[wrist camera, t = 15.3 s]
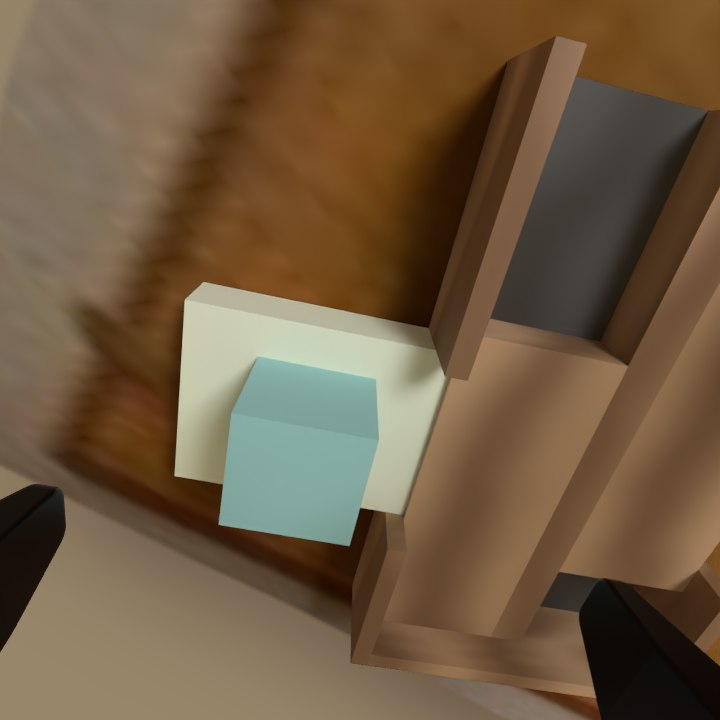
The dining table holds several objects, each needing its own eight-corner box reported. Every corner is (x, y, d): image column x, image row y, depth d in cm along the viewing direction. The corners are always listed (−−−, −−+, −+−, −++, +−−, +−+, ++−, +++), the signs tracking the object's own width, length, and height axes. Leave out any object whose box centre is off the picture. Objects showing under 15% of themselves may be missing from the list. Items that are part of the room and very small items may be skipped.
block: (376, 379, 18) (379, 440, 15) (351, 471, 20) (349, 546, 16) (258, 356, 18) (231, 413, 14) (245, 452, 20) (218, 524, 16)
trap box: (928, 168, 17) (1097, 179, 13) (618, 625, 27) (660, 707, 23) (508, 60, 16) (556, 35, 12) (352, 584, 26) (350, 663, 22)
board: (447, 332, 20) (456, 354, 18) (399, 481, 23) (403, 515, 21) (203, 282, 19) (184, 299, 17) (191, 445, 22) (174, 475, 20)
